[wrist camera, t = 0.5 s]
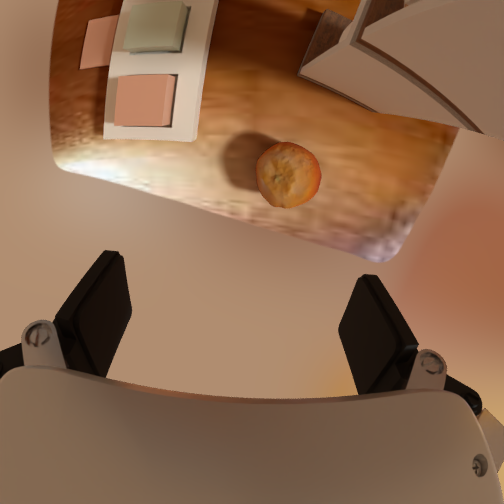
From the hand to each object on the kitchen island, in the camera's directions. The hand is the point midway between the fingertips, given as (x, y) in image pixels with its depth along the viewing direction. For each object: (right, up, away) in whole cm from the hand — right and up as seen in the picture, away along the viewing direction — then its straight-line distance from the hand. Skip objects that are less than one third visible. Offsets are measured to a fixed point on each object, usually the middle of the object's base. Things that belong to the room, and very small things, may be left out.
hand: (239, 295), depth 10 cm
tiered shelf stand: (+13, +27, +17) cm, 34 cm away
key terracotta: (-12, +20, +17) cm, 29 cm away
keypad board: (-10, +29, +15) cm, 35 cm away
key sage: (-10, +28, +12) cm, 32 cm away
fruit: (+5, +13, +25) cm, 29 cm away
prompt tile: (-20, +31, +14) cm, 39 cm away
